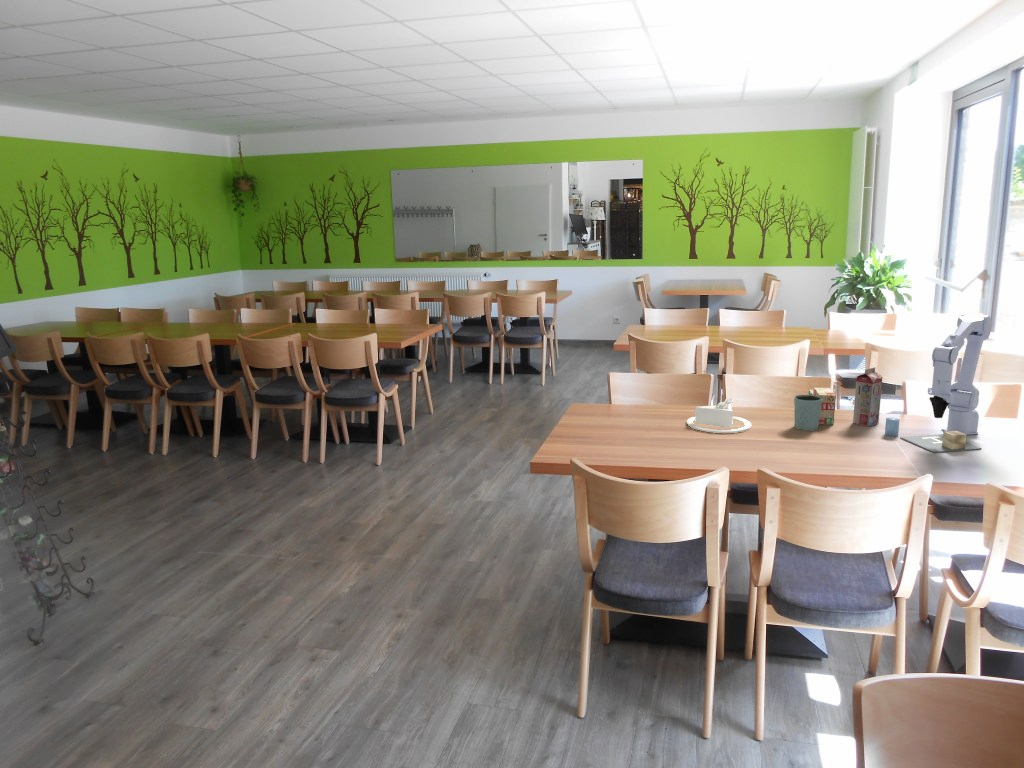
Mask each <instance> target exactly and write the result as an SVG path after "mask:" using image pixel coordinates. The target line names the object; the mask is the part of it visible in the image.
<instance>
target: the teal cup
mask: <svg viewBox="0 0 1024 768" xmlns="http://www.w3.org/2000/svg"><path fill="white" fill-rule="evenodd" d="M793 398H794V404H793V406H794V410H793V411H794V415H793V416H794V428H795V427H796V428H795V429H797V428H798V429H797V430H800V429H802V430H801V431H807V430H812V431H816V429H817V430H818V429H819V425H820V424H819V418H820V410H821V404H822V398H821V397H819V396H814V395H809V394H799V395H794V397H793Z"/></svg>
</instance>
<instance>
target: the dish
mask: <svg viewBox="0 0 1024 768" xmlns="http://www.w3.org/2000/svg"><path fill="white" fill-rule="evenodd" d="M733 402H734V400H733V399H732V398H731V397H727V398H726V399H724V401H721V402H718V403H717V404H715V405H701V406H695V410H694V411H695V412H694V413H695V414H694V415H695V416H691V417H688V419H687V420H686V425H687V424H688V425H689V426H690V427H692V428H695V429H698V430H702V431H707V432H714V433H713V434H715V433H735V432H742V433H744V432H743V431H745V432H747V431H746V430H748V431H750V430H751V429H752V428H751V427H753V424H752V422H751V421H750V420H747V419H746V418H743V417H739V416H736V415H735V416H734V410H733V408H732V406H731V404H732V403H733ZM733 419H736V420H739V421H742V422H743V423H744V425H745V426H744V427H741V428H738V429H731V430H724V429H723V430H717V429H708V428H703V427H700V426H697V425H695V424H694V423H693V421H694V420H695V423H700V424H706V425H713V426H720V427H728V428H732V424H733ZM690 427H689V428H690ZM750 428H751V429H750ZM721 429H722V428H721ZM749 429H750V430H749ZM735 434H736V433H735Z"/></svg>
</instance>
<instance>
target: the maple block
mask: <svg viewBox="0 0 1024 768" xmlns="http://www.w3.org/2000/svg"><path fill="white" fill-rule="evenodd" d="M942 434H943V440H942V445H943V446H945V447H947V448H950V449H965V445H966V442H967V435H966V434H964V433H961V432H958V431H942Z"/></svg>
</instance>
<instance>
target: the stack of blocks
mask: <svg viewBox="0 0 1024 768" xmlns="http://www.w3.org/2000/svg"><path fill="white" fill-rule="evenodd" d="M808 395H814V396H819V397H821V398H822V404H821V410H820V418H819V425H820V424H830V426H831V425H832V426H834V424H835V412H836V401H837V394H835V392H834V391H833V390H832V389H831V388H830V387H813V389H809V390H808Z"/></svg>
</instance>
